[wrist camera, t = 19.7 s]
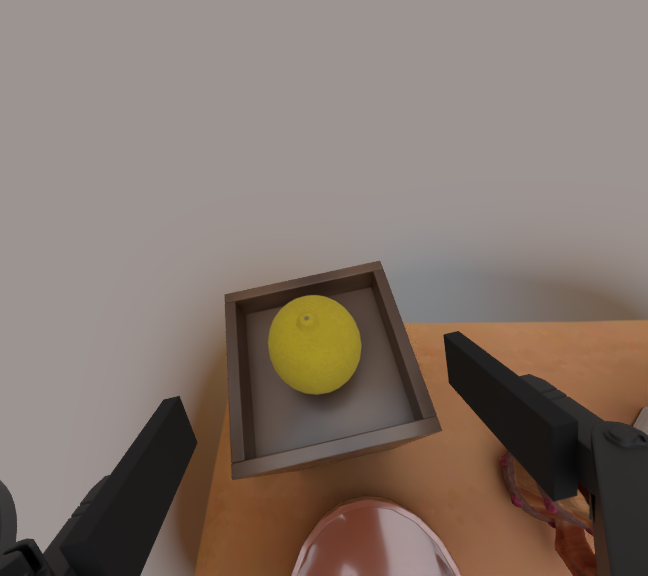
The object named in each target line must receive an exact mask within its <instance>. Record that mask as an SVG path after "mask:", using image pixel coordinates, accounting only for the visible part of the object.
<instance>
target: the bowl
mask: <svg viewBox="0 0 648 576" xmlns="http://www.w3.org/2000/svg"><path fill="white" fill-rule="evenodd" d="M291 576H461V572H460V571H459V568H458V567H457V565H456V563H455V561H454V560H453V558H452V556H451V555H450V553H449V551H448V550H447V548H446V546H445V545H444V543H443V541H442V540H441V539H440V537H439V536H438V535H437V534H436V533H435V532H434V531H433V530H432V529H431V528H429V527H428V526H427V525H426V524H425V523H424V522H423V521H422V520H421V519H420V518H419V517H418V516H417V515H416V514H415V513H414V512H412V511H411V510H409V509H407V508H406V507H404V506H402V505H400V504H398V503H396V502H394V501H392V500H390V499H388V498H381V497H375V496H367V495H366V496H361V497H355V498H352V499H348V500H344V501H342V502H341V503H339V504H338V505H336V506H335V507H333V508H332V509H331V510H329V511H328V512H326V513H325V514H324V515H323V516H322V517H321V519H320V520H319V521H318V523H317V524H316V525H315V527H314V528H313V529H312V531H311V532H310V534H309V535H308V536H307V538H306V540H305V541H304V543H303V545H302V547H301V550H300V552H299V555H298V558H297V560H296V563H295V565H294V568H293V571H292V573H291Z"/></svg>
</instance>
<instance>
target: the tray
mask: <svg viewBox="0 0 648 576" xmlns="http://www.w3.org/2000/svg"><path fill="white" fill-rule="evenodd" d="M309 295H318V296H324V297H328V298H330V299H332V300H335V301H337V302H338V303H339V304H340V305H342V306H343V307H344V308H345V309H346V310H347V311H348V312H349V313H350V315H351V316H352V317H353V319H354V320H355V323H356V325H357V327H358V330H359V332H360V339H361V355H360V360H359V363H358V365H357V368H356V370H355V372H354V373H353V375H352V376H351V377H350V379H349V380H348V381H347V382H346V383H345V384H343V385H342V386H341V387H340V388H338V389H336V390H334V391H332V392H329V393H324V394H318V395H316V394H306V393H303V392H300V391H298V390H295V389H293V388H292V387H290V386H289V385H288V384H286V383H285V382H284V381H283V380H282V379H281V377H280V376H279V375H278V374H277V372H276V371H275V369H274V367H273V364H272V362H271V359H270V356H269V348H268V338H269V331H270V327H271V325H272V322H273V320H274V318H275V316H276V315H277V314H278V312H279V311H280V310H281V309H282V308H283V307H284V306H285V305H286V304H288V303H289V302H291V301H293V300H295V299H297V298H300V297H303V296H309ZM225 318H226V340H227V341H226V342H227V366H228V392H229V416H230V441H231V462H232V464H231V468H232V480H236V479H243V478H249V477H254V476H258V475H262V474H266V473H271V472H275V471H279V470H283V469H288V468H292V467H296V466H300V465H305V464H309V463H313V462H317V461H322V460H326V459H330V458H335V457H339V456H343V455H347V454H352V453H356V452H360V451H364V450H369V449H373V448H377V447H381V446H386V445H390V444H394V443H398V442H403V441H407V440H411V439H416V438H420V437H424V436H428V435H432V434H434V433H437V432H440V431H442V429H441V426H440V423H439V421H438V418H437V416H436V412H435V410H434V407H433V404H432V401H431V399H430V396H429V393H428V390H427V388H426V385H425V382H424V379H423V377H422V374H421V371H420V368H419V366H418V363H417V360H416V357H415V355H414V352H413V349H412V346H411V344H410V341H409V338H408V336H407V333H406V330H405V327H404V325H403V322H402V319H401V316H400V314H399V311H398V308H397V305H396V303H395V300H394V297H393V294H392V292H391V289H390V286H389V284H388V281H387V278H386V275H385V272H384V270H383V267H382V265H381V262H380V261H376V262H372V263H367V264H363V265H358V266H354V267H349V268H345V269H340V270H335V271H330V272H326V273H321V274H317V275H312V276H308V277H303V278H298V279H294V280H289V281H285V282H280V283H275V284H271V285H266V286H262V287H257V288H252V289H248V290H243V291H239V292H234V293H229V294H225Z"/></svg>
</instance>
